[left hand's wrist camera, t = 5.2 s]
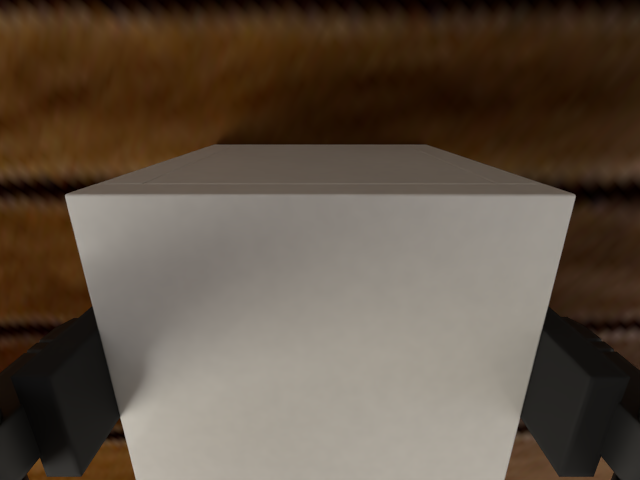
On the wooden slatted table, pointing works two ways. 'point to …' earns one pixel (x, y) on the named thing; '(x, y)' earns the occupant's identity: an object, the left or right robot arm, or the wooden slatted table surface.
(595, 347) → the left robot arm
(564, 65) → the wooden slatted table surface
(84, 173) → the wooden slatted table surface
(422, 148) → the cabinet
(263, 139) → the wooden slatted table surface
